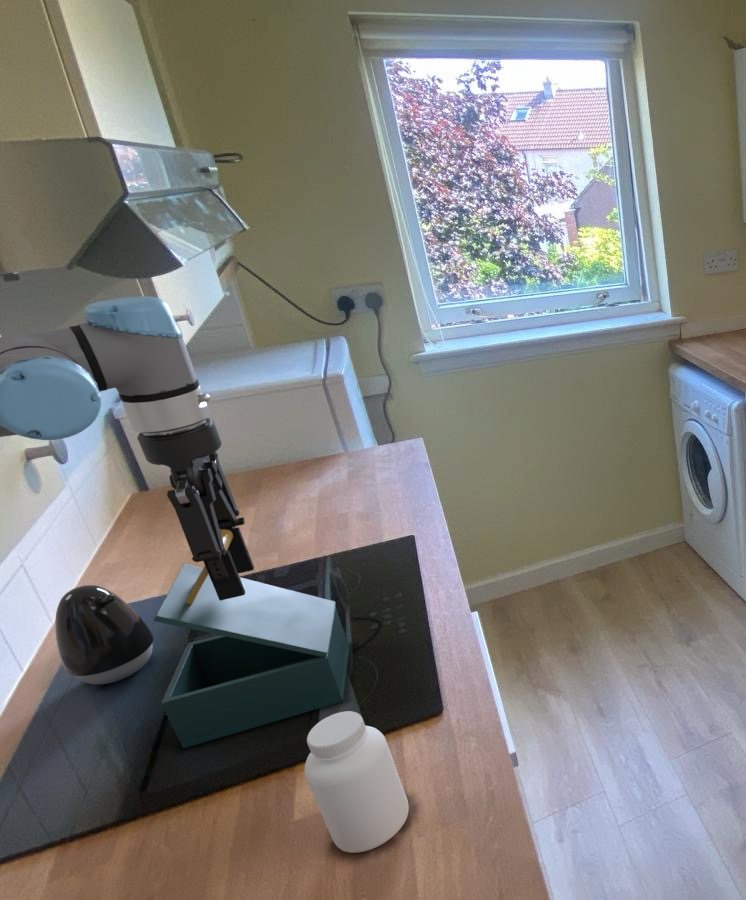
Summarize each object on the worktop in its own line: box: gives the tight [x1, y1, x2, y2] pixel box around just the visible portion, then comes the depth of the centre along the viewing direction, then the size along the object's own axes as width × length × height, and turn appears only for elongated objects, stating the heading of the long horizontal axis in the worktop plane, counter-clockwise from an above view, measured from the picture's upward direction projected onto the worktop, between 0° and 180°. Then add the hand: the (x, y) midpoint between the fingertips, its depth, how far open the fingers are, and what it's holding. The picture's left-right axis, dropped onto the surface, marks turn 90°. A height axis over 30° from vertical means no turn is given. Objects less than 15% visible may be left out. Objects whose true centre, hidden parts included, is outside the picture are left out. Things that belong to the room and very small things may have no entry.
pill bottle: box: [304, 710, 410, 854], centre depth 82 cm, size 8×8×15 cm
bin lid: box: [153, 529, 336, 657], centre depth 101 cm, size 19×14×9 cm
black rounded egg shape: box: [54, 584, 154, 685], centre depth 109 cm, size 10×10×15 cm
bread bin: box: [160, 606, 350, 749], centre depth 105 cm, size 19×14×8 cm
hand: (237, 583), depth 99 cm, fingers closed on bin lid, 6 cm apart
